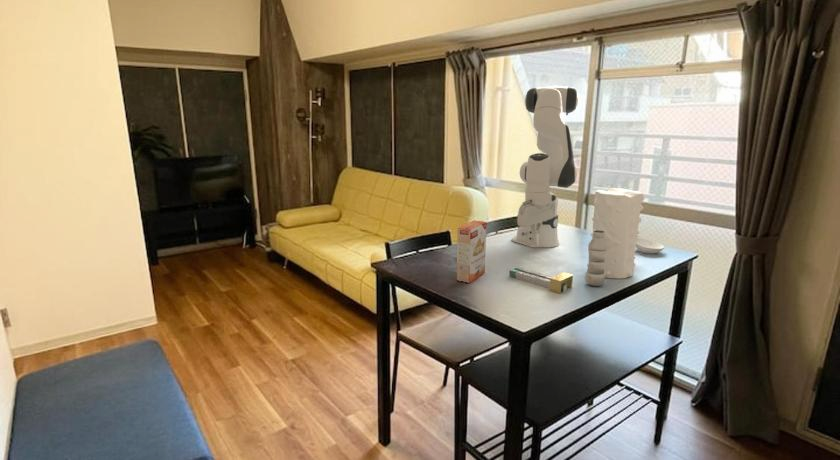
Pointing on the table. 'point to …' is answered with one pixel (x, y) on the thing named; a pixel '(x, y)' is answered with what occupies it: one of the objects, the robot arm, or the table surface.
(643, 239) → the spoon rest
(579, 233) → the table surface
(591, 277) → the plastic bottle
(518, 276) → the green-tipped wooden stick
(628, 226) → the white bumpy sculpture
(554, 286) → the lock collar
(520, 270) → the tong arm
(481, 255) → the cracker box
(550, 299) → the table surface
